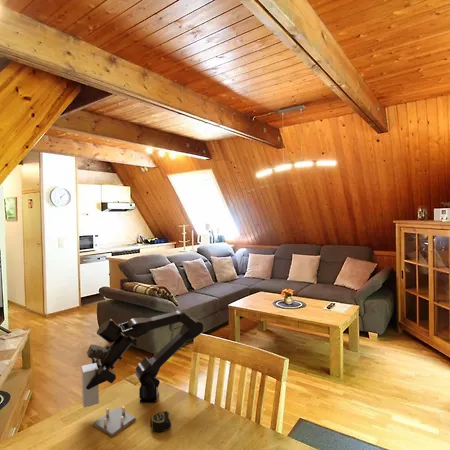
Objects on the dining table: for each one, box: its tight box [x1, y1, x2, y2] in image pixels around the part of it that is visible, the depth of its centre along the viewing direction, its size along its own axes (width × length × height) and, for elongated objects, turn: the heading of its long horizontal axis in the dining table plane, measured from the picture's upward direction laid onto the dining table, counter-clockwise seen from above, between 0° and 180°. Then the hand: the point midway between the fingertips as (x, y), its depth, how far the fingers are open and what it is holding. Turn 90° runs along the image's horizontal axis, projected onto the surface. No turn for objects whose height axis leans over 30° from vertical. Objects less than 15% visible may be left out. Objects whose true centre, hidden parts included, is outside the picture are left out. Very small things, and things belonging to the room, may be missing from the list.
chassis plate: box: [93, 405, 136, 437], centre depth 114 cm, size 10×10×4 cm
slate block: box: [81, 363, 100, 408], centre depth 117 cm, size 5×5×13 cm
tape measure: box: [149, 410, 172, 433], centre depth 112 cm, size 7×7×4 cm
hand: (86, 385), depth 116 cm, fingers closed on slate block, 5 cm apart
